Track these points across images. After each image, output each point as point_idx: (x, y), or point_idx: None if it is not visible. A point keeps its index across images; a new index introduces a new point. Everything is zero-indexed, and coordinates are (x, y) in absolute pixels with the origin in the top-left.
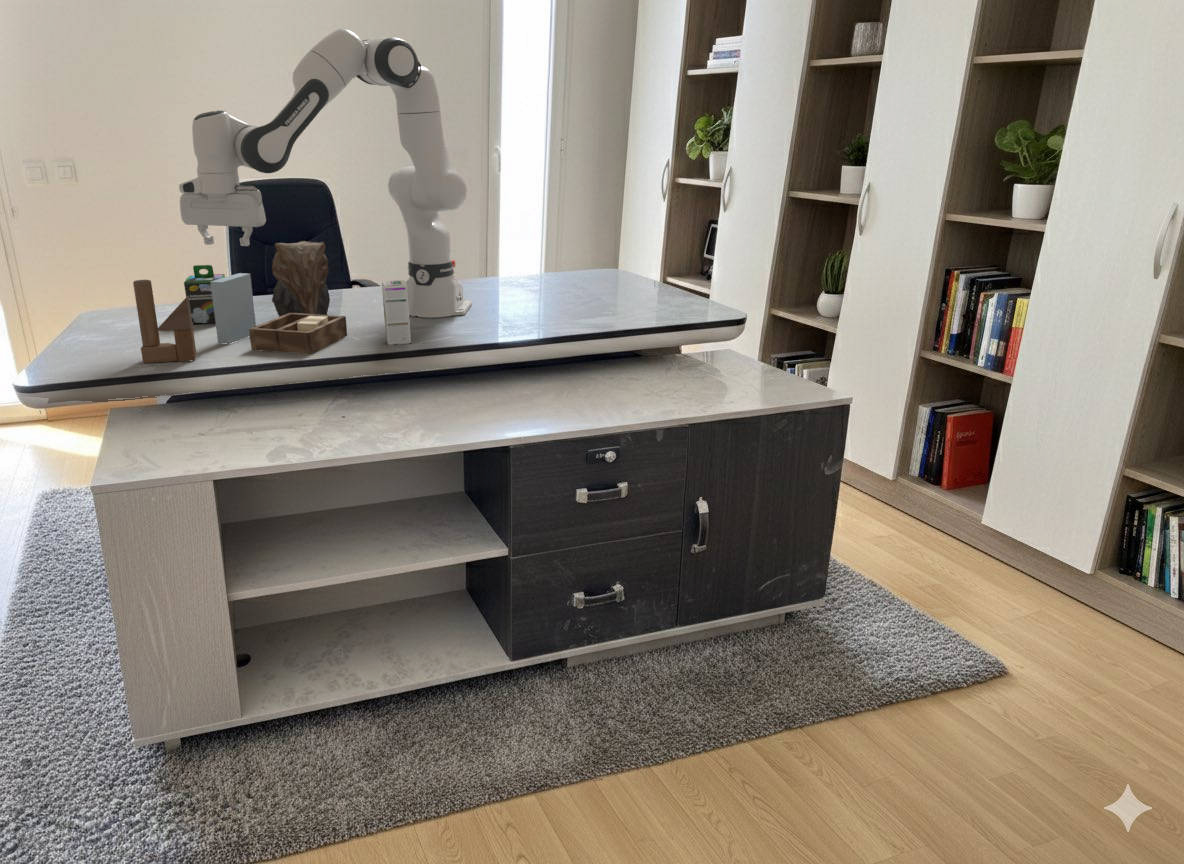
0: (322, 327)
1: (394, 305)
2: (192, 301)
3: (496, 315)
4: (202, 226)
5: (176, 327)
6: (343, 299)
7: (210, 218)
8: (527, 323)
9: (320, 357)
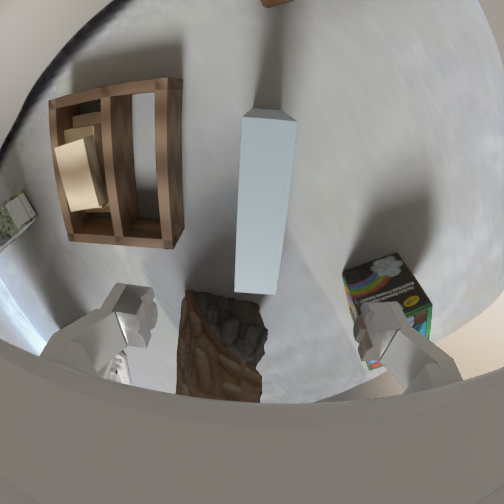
0: (52, 152)
1: None
2: (406, 281)
3: (41, 334)
4: (433, 383)
5: None
6: None
7: (372, 457)
8: (6, 306)
9: (55, 88)
